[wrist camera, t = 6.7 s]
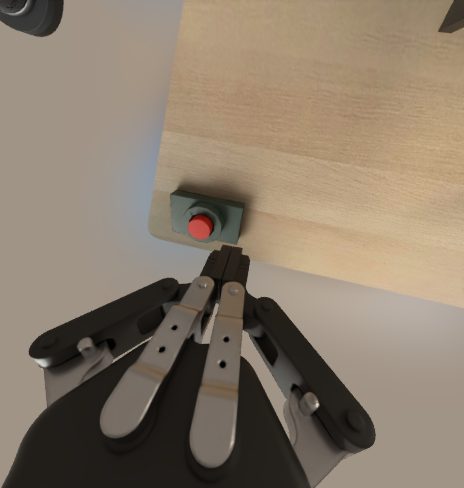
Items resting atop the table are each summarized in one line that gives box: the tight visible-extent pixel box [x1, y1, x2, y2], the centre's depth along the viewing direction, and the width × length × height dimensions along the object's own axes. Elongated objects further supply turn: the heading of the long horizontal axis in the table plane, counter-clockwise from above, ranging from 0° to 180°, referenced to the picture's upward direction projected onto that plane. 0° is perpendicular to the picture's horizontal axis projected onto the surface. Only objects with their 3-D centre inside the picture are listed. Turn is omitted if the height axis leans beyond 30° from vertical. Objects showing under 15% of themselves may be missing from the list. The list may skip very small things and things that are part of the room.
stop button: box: [188, 215, 213, 239], centre depth 31 cm, size 4×4×2 cm
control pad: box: [170, 190, 245, 245], centre depth 33 cm, size 12×7×4 cm, turn 83°
